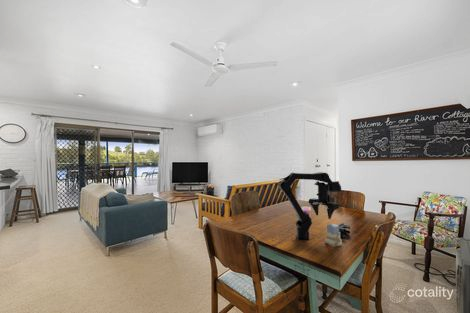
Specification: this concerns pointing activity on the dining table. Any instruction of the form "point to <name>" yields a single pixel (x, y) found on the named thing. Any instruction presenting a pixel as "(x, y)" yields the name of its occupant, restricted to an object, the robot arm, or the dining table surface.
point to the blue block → (333, 228)
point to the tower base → (333, 242)
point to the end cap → (343, 231)
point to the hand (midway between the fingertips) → (323, 217)
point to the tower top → (333, 236)
